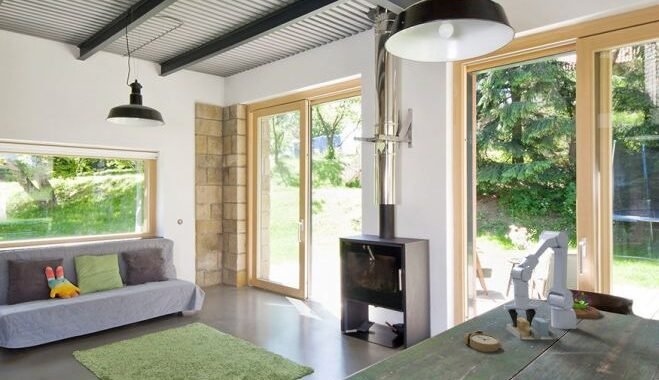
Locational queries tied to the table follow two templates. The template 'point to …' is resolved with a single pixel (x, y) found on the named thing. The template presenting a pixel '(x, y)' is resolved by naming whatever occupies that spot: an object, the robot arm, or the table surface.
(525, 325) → the maple plug block
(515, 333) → the grey socket board
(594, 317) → the plant
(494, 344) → the alarm clock
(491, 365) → the table surface
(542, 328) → the slate-blue plug block
